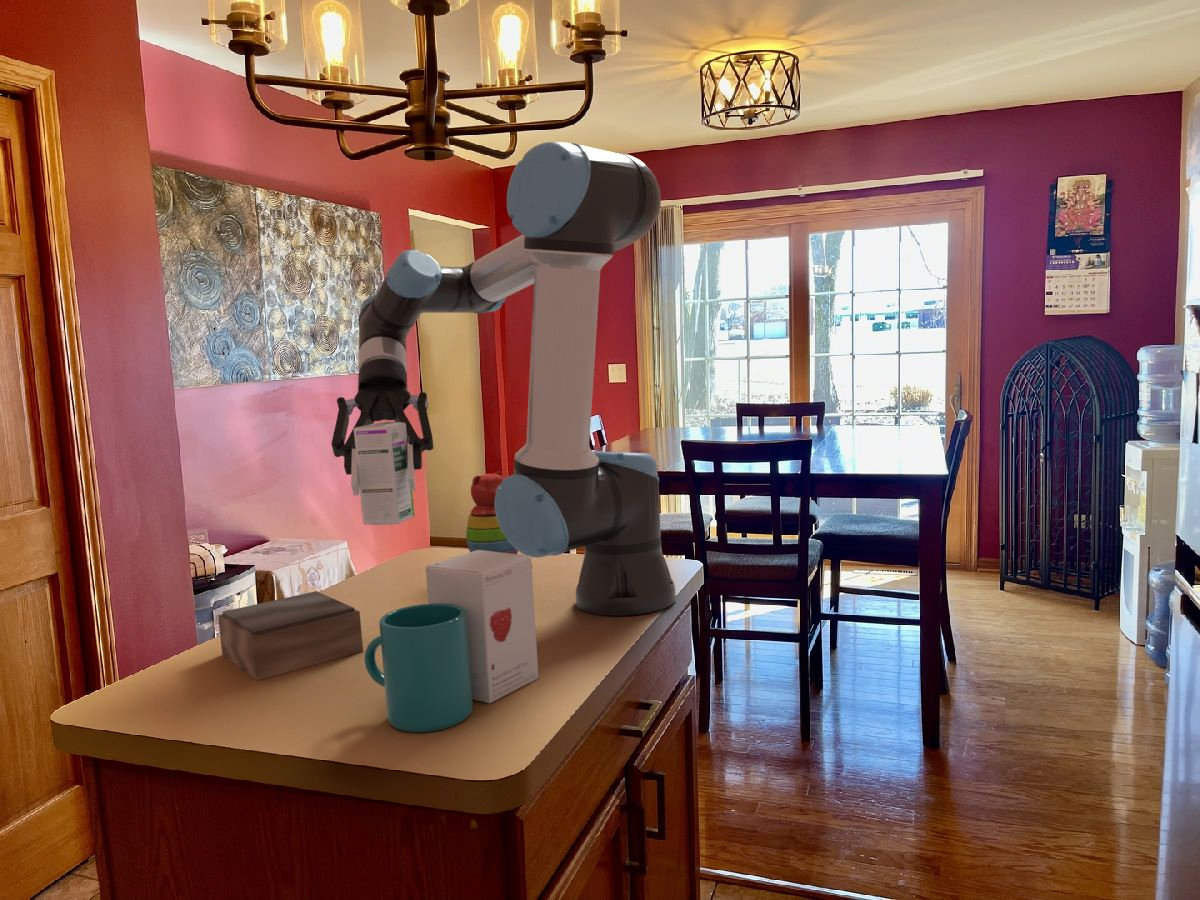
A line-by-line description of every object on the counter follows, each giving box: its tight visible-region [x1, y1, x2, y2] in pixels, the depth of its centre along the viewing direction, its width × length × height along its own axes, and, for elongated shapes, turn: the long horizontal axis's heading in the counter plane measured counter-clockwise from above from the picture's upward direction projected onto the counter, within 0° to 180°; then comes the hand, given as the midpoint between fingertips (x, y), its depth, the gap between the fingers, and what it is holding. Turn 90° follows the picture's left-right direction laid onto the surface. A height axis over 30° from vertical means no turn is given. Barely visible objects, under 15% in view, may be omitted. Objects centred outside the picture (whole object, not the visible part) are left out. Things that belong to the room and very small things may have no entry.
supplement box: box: [425, 550, 539, 704], centre depth 101 cm, size 9×9×15 cm
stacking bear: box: [465, 471, 519, 554], centre depth 156 cm, size 11×10×18 cm
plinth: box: [217, 591, 364, 681], centre depth 117 cm, size 14×14×6 cm
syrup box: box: [354, 421, 415, 526], centre depth 128 cm, size 6×6×14 cm
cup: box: [364, 603, 474, 733], centre depth 94 cm, size 9×12×11 cm
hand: (383, 487), depth 125 cm, fingers closed on syrup box, 7 cm apart
